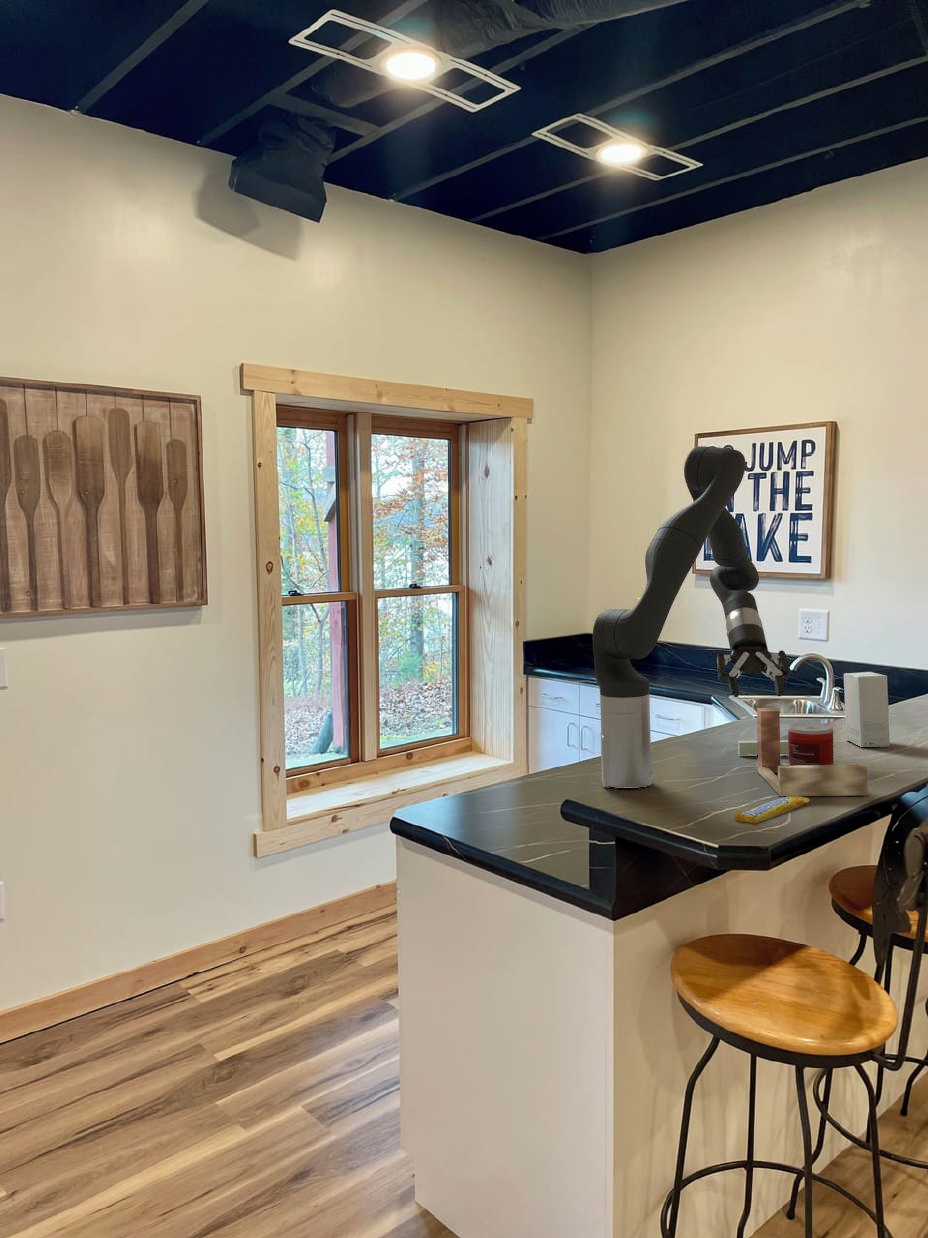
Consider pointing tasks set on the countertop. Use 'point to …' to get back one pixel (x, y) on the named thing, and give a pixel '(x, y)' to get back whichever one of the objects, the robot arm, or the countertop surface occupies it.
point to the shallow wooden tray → (802, 766)
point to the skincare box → (866, 709)
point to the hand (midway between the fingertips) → (758, 694)
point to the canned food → (810, 744)
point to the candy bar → (771, 809)
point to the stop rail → (752, 747)
